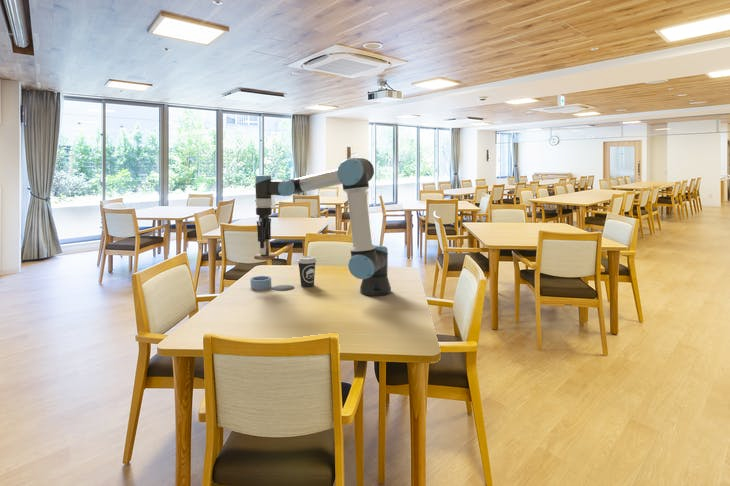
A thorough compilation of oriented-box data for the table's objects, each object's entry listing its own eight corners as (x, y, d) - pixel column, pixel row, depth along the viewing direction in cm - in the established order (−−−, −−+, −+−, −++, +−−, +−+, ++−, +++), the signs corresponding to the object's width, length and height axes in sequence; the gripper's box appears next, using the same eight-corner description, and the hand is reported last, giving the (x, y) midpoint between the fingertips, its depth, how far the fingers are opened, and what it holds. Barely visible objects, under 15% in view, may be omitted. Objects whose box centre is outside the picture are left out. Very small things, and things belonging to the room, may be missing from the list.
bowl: (275, 287, 238) (274, 277, 238) (259, 291, 231) (259, 281, 230) (262, 284, 245) (262, 275, 244) (246, 288, 237) (246, 278, 236)
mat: (299, 288, 237) (299, 287, 237) (282, 293, 228) (282, 292, 228) (284, 284, 244) (284, 283, 244) (267, 289, 235) (267, 288, 235)
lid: (279, 257, 236) (279, 239, 234) (263, 260, 228) (262, 242, 226) (266, 254, 242) (266, 237, 241) (249, 257, 234) (249, 239, 233)
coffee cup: (318, 284, 245) (318, 255, 243) (314, 288, 236) (314, 259, 233) (300, 283, 246) (299, 255, 244) (296, 288, 237) (295, 259, 234)
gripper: (262, 204, 239) (263, 250, 243) (249, 208, 223) (250, 256, 227) (277, 205, 238) (277, 250, 242) (264, 208, 222) (265, 257, 226)
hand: (264, 253), depth 235 cm, fingers closed on lid, 4 cm apart
